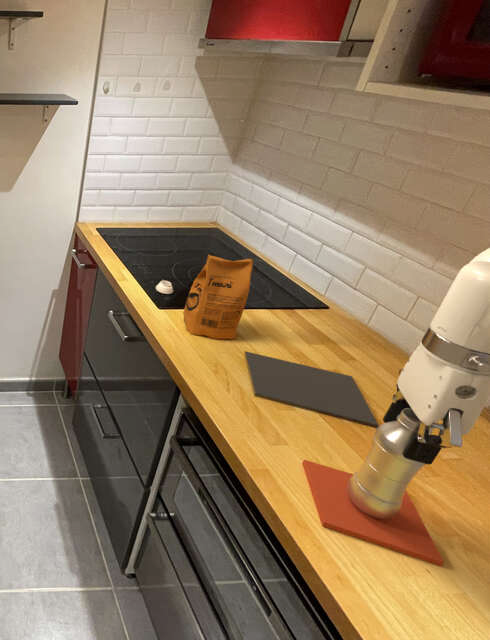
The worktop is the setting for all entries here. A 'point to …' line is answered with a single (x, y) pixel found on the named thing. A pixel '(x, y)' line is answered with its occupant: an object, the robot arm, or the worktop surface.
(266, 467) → the worktop surface
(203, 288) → the coffee package
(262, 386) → the slate board
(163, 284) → the white ridged tapered disc
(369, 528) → the terracotta tile
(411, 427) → the plastic bottle
